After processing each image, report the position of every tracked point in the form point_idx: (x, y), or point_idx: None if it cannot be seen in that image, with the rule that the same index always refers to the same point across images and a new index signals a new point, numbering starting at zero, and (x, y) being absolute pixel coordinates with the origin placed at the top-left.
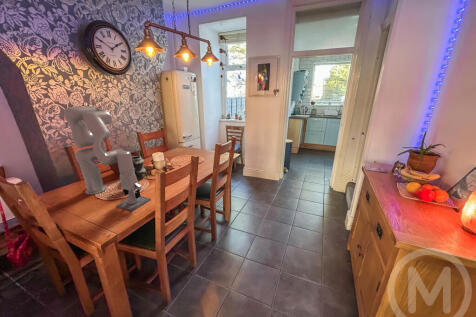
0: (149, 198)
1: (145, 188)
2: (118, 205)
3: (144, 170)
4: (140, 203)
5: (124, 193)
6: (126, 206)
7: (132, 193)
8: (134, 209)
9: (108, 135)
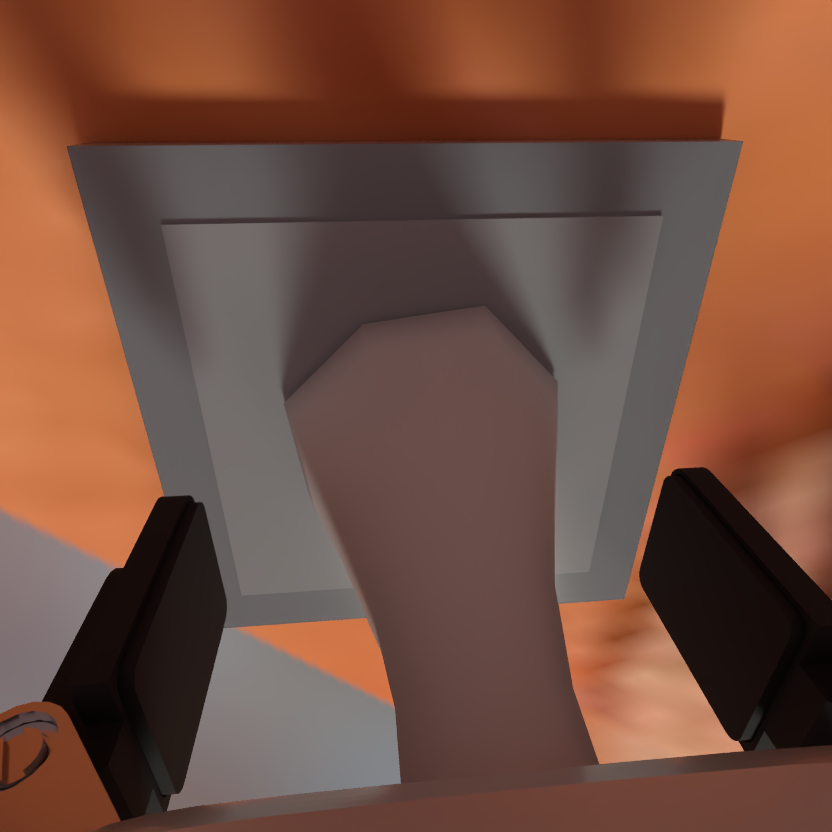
0: (226, 622)
1: (616, 744)
2: (662, 168)
3: None
4: (207, 448)
5: (728, 523)
6: (399, 219)
7: (377, 625)
8: (99, 222)
9: None
